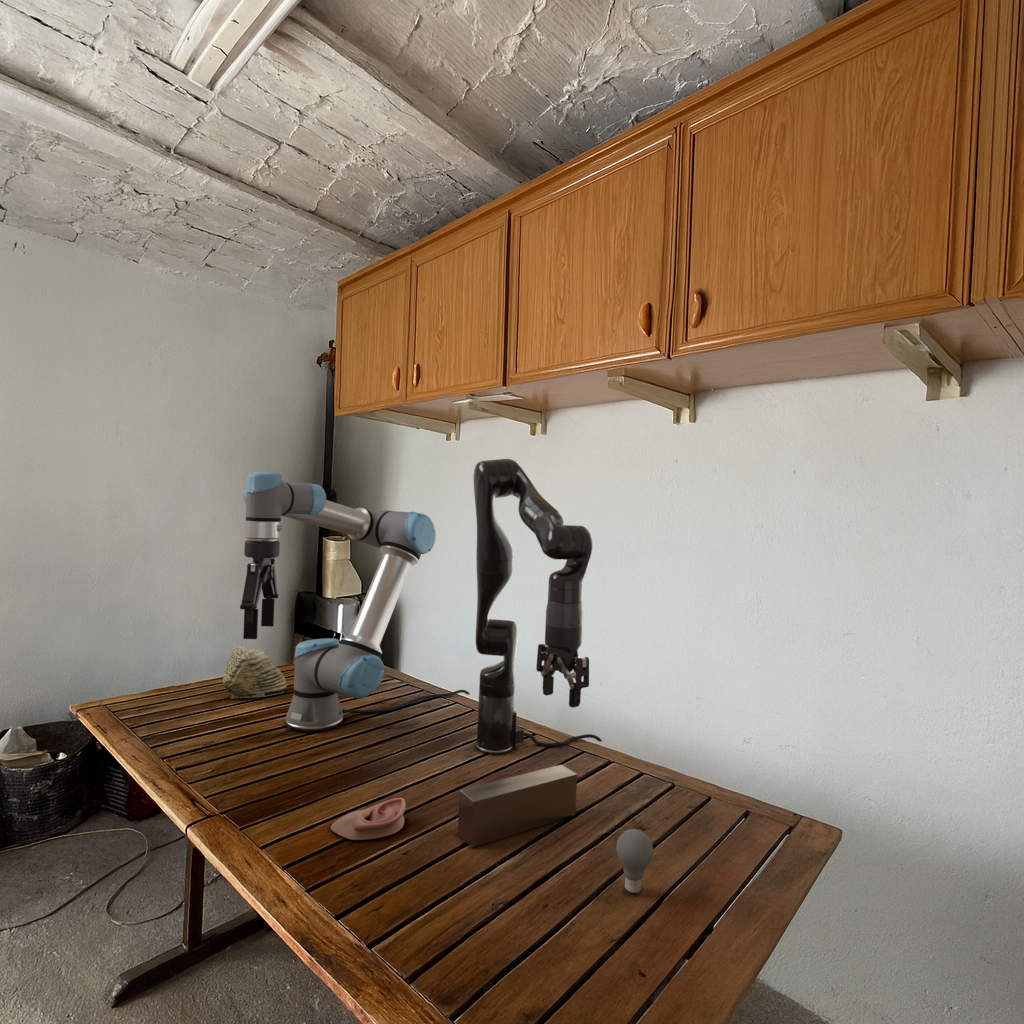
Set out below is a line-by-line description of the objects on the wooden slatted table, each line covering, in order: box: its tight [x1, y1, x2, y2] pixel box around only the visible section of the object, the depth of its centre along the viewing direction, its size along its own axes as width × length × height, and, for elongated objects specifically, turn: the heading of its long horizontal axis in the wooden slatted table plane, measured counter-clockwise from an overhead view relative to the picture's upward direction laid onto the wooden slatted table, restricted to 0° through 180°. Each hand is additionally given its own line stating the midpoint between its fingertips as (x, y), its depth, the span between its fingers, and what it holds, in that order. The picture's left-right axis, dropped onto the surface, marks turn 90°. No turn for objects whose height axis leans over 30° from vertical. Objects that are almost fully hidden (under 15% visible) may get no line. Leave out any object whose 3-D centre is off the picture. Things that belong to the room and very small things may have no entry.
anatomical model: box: [330, 797, 407, 841], centre depth 123 cm, size 13×4×12 cm
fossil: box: [222, 646, 288, 699], centre depth 198 cm, size 9×18×15 cm, turn 132°
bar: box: [457, 764, 578, 848], centre depth 126 cm, size 25×5×9 cm, turn 124°
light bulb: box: [615, 828, 654, 894], centre depth 106 cm, size 6×6×10 cm
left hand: (259, 632), depth 145 cm, fingers open, 13 cm apart
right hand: (560, 700), depth 130 cm, fingers open, 8 cm apart
